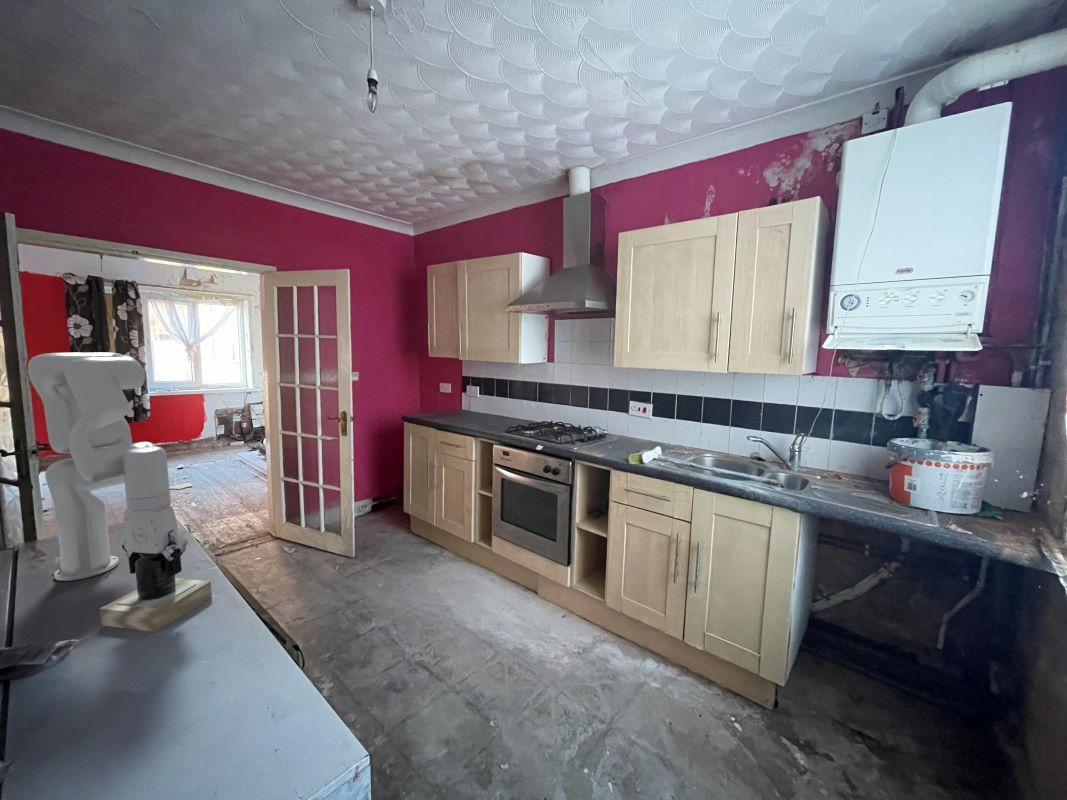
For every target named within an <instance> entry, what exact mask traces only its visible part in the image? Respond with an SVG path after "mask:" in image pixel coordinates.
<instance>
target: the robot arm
mask: <svg viewBox="0 0 1067 800" xmlns="http://www.w3.org/2000/svg"><path fill="white" fill-rule="evenodd" d="M27 374H28V378H29V380H30V382H31V385H32V386H33V388H34V389H35V391H36V393H37V394H38V396H39V397H40V399H41V402H42V405H43V407H44V408H43V410H44V416H45V422H46V423H45V424H46V431H47V436H48V442H49V446H50V447H51V449H52V450H53V451H54V452H55V453H58V454H70V455H71V458H65V459H62V460H58V461H56V462H54V463H52V464H51V465H49V466H48V467H47V469H46V470H45V475H44V476H45V481H46V484H47V487H48V489H49V493H50V495H51V499H52V503H53V507H54V514H55V521H56V528H57V537H58V546H59V547H58V548H59V553H60V554H59V555H60V556H58V557H55V559H54V560H53V561H54V562H55V563H59V566H60V568H58V569H57V570H56V571H55V572H54V573H53V577H54V579H55V580H57V581H60V582H69V581H70V582H71V581H78V580H83V579H88V578H90V577H94V576H98V575H100V574H103V573H106V572H108V571H110V570H112V569H114V568H115V567H117V566H118V565H119V563H120V560H119V557H118V556H116V555H111V545H110V538H109V529H108V519H107V511H106V504H105V503H104V501H103V500H102V499H100V498H99V497H97V496H95V495H94V494H92V493H91V492H92V491H96V490H100V489H105V488H108V487H114V486H119V485H122V484H124V490H125V498H126V508H125V511H124V514H123V523H122V524H123V525H122V526H123V528H122V533H123V534H121V535H118V540H119V542H120V544H121V548H122V549H123V550H124V551H125V556H126V557H127V558H128V565H129V566H128V567H129V568H128V569H129V574H132V575H134V574H136V572H135V562H136V560H137V559H138V558H139V557H140V555H139V553H147V554H159V553H161V552H162V553H163V555H164V556H165V557H166V558H167V560H166V561H165V567H166V576H167V577H172V576H173V575H175V576H176V575H177V574H179V573H181V572H182V569H183V568H182V561H181V560H182V558H181V556H183V553H184V552H185V551H186V548H187V545H188V543H189V540H188V539H187V538H185V537H184V536H182V535H180V534H179V529H178V523H177V519H176V514H175V510H174V508H173V505H172V502H171V492H170V491H171V490H170V479H169V470H168V457H167V456H168V455H167V451H166V449H164V448H163V447H161V446H158V445H155V444H154V443H153V442H149V441H139V442H133V439H132V433H131V427H130V425H129V423H128V421H127V420H126V418H125V416H127V414H129V411H130V410H131V406H130V403H129V401H128V399H127V396H125V393H124V391H123V390H135V389H139V388H141V387H142V386H143V385H144V383H145V380H146V375H145V370H144V368H143V366H142V365H141V363H140V362H139V361H138V360H137V359H135V358H134V357H132V356H128V355H124V354H121V353H117V352H51V353H50V352H49V353H42V354H38V355H35V356H33V357H31V358H30V359H29V361H28V364H27ZM170 550H172V552H171V551H170ZM170 552H171V553H172V554H171V553H170Z"/></svg>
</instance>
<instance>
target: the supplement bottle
mask: <svg viewBox="0 0 1067 800" xmlns="http://www.w3.org/2000/svg"><path fill="white" fill-rule="evenodd" d="M170 553H171V554H172V552H171V551H170ZM139 555H140V557H139V558H138V559H137V560H136V562H135V572H136V573H135V579H136V590H137V592H138V597H139V598H140V599H142V600H152V599H157V598H160V597H163V596H165V595H168V594H169V593H171V592H172V591H173V590H174V589H175V587H176V581H175V578H176V574H175V575H173V576H172V577H167V576H166V567H165V561H166V560H167V558H166V557H165V556H164V555H163V553H162V552H161V553H159V554H147V553H139Z"/></svg>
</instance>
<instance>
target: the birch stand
mask: <svg viewBox="0 0 1067 800" xmlns="http://www.w3.org/2000/svg"><path fill="white" fill-rule="evenodd" d="M175 581H176V587H175V589H174V590H173V591H172V592H171V593H169V594H168V595H165V596H163V597H160V598H157V599H152V600H142V599H140V598H139V597H138V592H137V589H135V590H133V591H131V592H129V593H127V594H125V595H123V596H122V597H119V598H117V599H115V600H113V601H112V602H110V603H108V604H106V605H103V606H102V607H99V614H100V623H101V626H103V627H110V628H114V627H115V628H120V629H129V630H137V631H144V632H151V633H153V632H154V633H156V632H158V631H160V630H161V629H163V628H164V627H166V626H168V625H169V624H171V623H172V622H174V621H175V619H176V620H177V619H178V618H180V617H182V616H184V615H186V614H187V613H189V611H191V610H193V609H195V608H196V607H198V606H199V605H200V603H201V604H202V603H204V602H206V601H207V600H209V599H210V598H212V597H211V596H212V594H213V593H212V586H211V585H212V584H211V581H210V580H199V579H190V578H188V579H187V578H179V577H175ZM208 598H209V599H208ZM206 599H207V600H206ZM205 600H206V601H205ZM203 601H204V602H203ZM197 605H198V606H197ZM195 606H196V607H195ZM194 607H195V608H194ZM192 608H193V609H192ZM186 612H187V613H186Z"/></svg>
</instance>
